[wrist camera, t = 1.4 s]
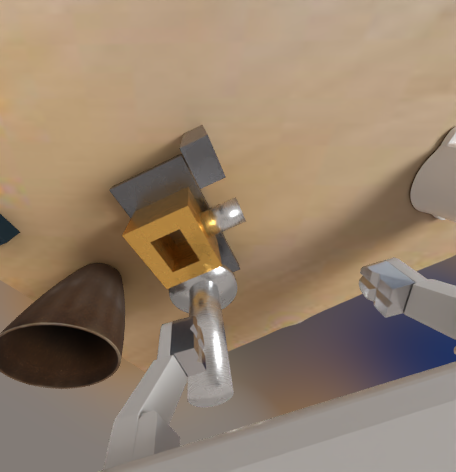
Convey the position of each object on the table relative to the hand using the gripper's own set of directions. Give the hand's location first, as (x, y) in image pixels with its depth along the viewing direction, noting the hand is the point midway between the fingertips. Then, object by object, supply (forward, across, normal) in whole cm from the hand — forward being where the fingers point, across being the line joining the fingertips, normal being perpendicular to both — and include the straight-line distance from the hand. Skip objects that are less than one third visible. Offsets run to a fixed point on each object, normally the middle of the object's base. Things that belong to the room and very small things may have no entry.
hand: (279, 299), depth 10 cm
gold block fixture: (+28, +6, +10) cm, 30 cm away
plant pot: (+29, +26, +15) cm, 42 cm away
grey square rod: (+28, +1, -4) cm, 28 cm away
